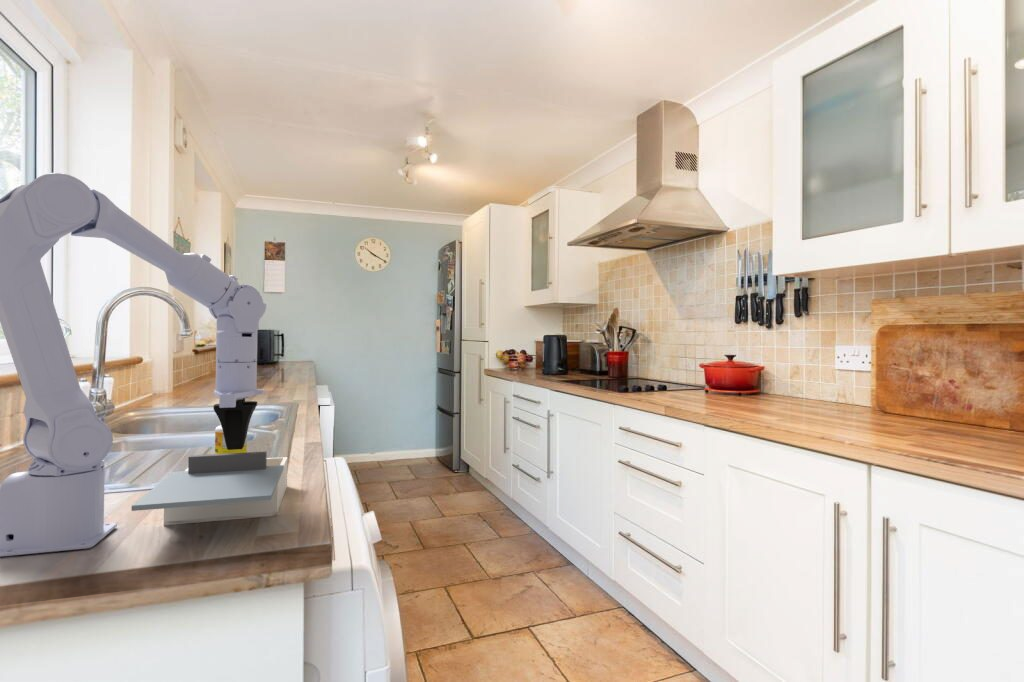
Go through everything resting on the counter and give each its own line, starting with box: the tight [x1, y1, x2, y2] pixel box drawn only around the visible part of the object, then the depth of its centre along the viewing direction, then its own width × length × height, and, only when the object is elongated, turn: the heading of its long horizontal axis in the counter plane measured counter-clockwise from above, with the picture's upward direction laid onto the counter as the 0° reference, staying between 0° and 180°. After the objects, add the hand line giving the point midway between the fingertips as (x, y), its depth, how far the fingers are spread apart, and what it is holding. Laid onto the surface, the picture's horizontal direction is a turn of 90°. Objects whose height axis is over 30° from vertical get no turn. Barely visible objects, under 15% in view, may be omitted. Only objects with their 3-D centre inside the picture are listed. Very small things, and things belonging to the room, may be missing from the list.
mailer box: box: [163, 456, 288, 526], centre depth 81 cm, size 14×16×5 cm
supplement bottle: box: [214, 422, 248, 454], centre depth 103 cm, size 6×6×10 cm
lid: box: [131, 451, 284, 512], centre depth 71 cm, size 15×17×3 cm
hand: (235, 448), depth 83 cm, fingers closed
